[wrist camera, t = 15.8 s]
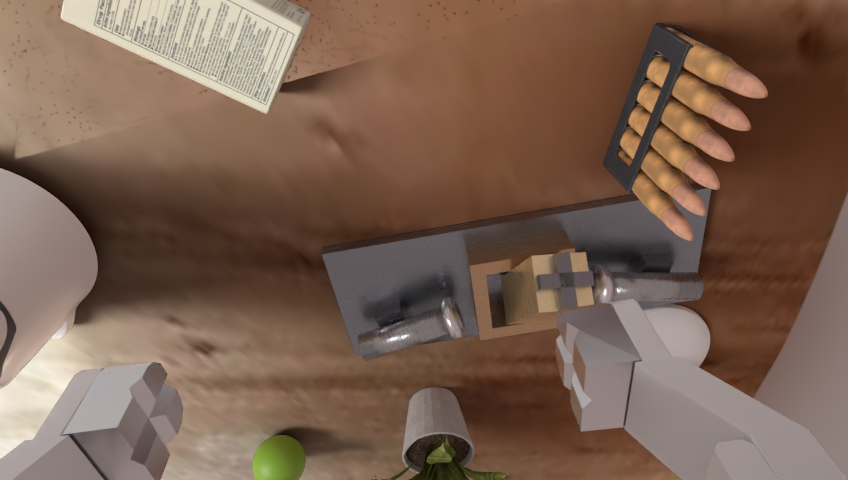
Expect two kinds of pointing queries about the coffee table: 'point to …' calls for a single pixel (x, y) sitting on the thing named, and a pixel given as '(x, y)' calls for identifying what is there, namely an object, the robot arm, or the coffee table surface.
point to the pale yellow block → (546, 287)
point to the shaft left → (409, 328)
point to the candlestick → (680, 331)
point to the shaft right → (646, 282)
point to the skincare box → (204, 39)
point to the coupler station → (498, 260)
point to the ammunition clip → (677, 123)
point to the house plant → (438, 439)
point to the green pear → (279, 459)
